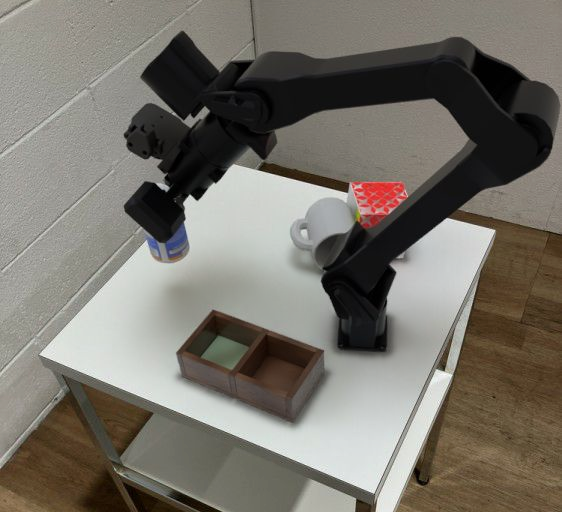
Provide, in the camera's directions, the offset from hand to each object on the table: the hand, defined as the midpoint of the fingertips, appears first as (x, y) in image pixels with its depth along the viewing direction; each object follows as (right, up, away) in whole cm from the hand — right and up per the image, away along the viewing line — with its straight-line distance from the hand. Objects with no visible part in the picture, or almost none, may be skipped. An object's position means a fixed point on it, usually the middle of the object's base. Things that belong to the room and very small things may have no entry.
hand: (151, 210), depth 83 cm
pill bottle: (+2, -5, +5) cm, 7 cm away
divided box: (+13, -22, -1) cm, 25 cm away
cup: (+23, +3, +14) cm, 27 cm away
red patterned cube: (+31, +4, +14) cm, 34 cm away
